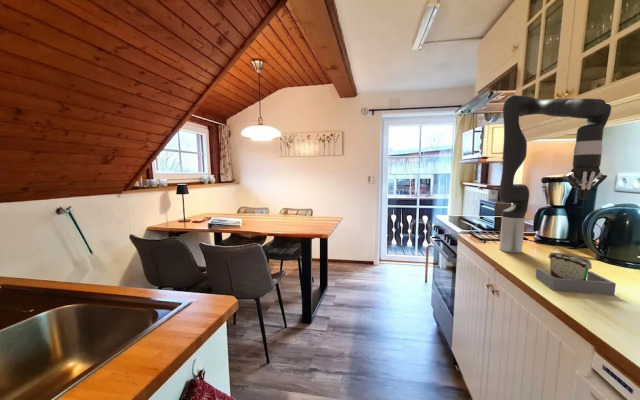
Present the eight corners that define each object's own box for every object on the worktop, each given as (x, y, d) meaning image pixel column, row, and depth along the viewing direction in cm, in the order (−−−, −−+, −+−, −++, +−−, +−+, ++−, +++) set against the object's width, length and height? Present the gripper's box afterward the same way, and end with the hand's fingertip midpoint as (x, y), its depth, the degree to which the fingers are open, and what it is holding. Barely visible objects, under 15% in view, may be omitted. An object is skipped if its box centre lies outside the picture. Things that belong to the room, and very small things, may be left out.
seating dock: (535, 278, 100) (536, 267, 100) (590, 282, 96) (591, 271, 96) (552, 290, 90) (553, 278, 90) (614, 295, 86) (615, 283, 86)
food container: (599, 290, 90) (602, 262, 89) (585, 292, 88) (588, 263, 87) (558, 276, 102) (561, 251, 100) (546, 278, 100) (548, 252, 99)
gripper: (600, 154, 103) (595, 198, 105) (560, 154, 106) (556, 198, 108) (617, 152, 96) (611, 200, 98) (573, 153, 99) (568, 200, 101)
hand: (582, 199), depth 103 cm, fingers closed
